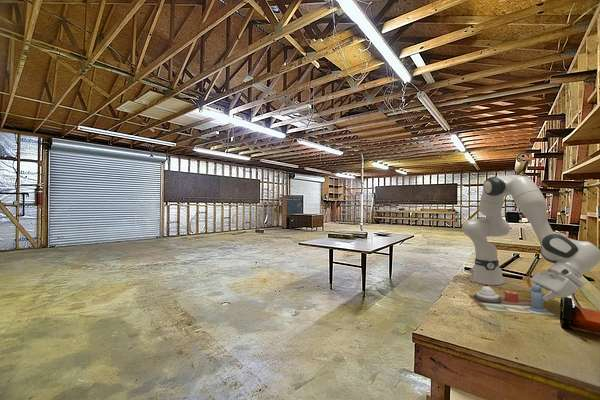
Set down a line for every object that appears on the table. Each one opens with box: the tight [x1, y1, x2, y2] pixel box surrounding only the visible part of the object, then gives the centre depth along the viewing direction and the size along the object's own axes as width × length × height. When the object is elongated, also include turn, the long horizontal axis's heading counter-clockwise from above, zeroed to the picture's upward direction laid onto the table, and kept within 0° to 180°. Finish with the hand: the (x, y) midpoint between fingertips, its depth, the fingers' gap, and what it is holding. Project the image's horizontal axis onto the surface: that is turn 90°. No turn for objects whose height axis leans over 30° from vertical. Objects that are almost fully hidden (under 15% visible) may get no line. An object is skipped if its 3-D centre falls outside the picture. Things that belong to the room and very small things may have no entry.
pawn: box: [530, 284, 547, 312], centre depth 115 cm, size 5×5×11 cm
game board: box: [467, 293, 557, 320], centre depth 123 cm, size 22×26×2 cm
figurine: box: [523, 275, 534, 299], centre depth 132 cm, size 8×6×12 cm
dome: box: [475, 285, 500, 300], centre depth 130 cm, size 9×9×5 cm
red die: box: [504, 290, 520, 303], centre depth 127 cm, size 4×4×4 cm
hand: (536, 295), depth 115 cm, fingers open, 8 cm apart
